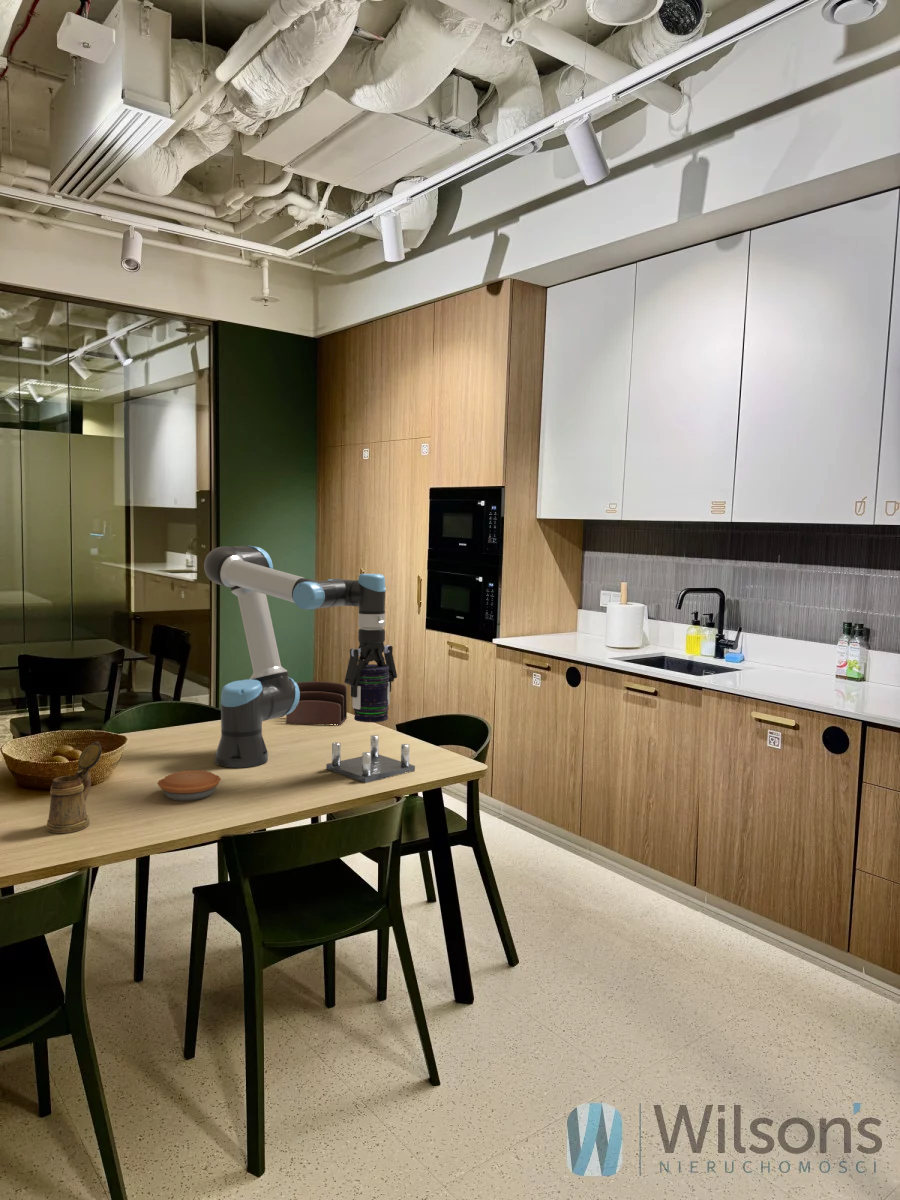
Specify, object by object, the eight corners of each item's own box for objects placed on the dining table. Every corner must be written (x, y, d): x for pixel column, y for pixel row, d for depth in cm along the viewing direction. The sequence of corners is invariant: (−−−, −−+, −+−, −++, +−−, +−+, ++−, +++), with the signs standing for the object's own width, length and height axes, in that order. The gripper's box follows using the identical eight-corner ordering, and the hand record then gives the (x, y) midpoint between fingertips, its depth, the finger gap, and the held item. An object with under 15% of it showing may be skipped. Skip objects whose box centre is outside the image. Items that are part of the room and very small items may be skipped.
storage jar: (349, 716, 245) (349, 665, 244) (381, 714, 249) (381, 663, 248) (360, 723, 236) (360, 670, 235) (393, 720, 240) (394, 668, 239)
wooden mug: (113, 818, 200) (112, 743, 198) (64, 836, 188) (62, 756, 186) (87, 812, 204) (86, 738, 202) (37, 829, 192) (35, 751, 190)
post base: (365, 782, 231) (365, 755, 230) (326, 769, 244) (326, 743, 243) (414, 770, 243) (415, 745, 243) (375, 758, 256) (375, 733, 256)
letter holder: (293, 718, 311) (293, 680, 309) (347, 720, 308) (347, 681, 307) (285, 724, 301) (285, 684, 300) (340, 726, 299) (341, 686, 298)
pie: (233, 790, 223) (233, 771, 223) (193, 807, 209) (193, 787, 209) (186, 782, 229) (186, 764, 229) (144, 798, 215) (144, 779, 215)
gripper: (347, 632, 230) (347, 713, 232) (410, 626, 245) (409, 703, 247) (331, 629, 235) (331, 709, 237) (393, 624, 251) (392, 699, 253)
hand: (371, 706), depth 242 cm, fingers closed on storage jar, 10 cm apart
